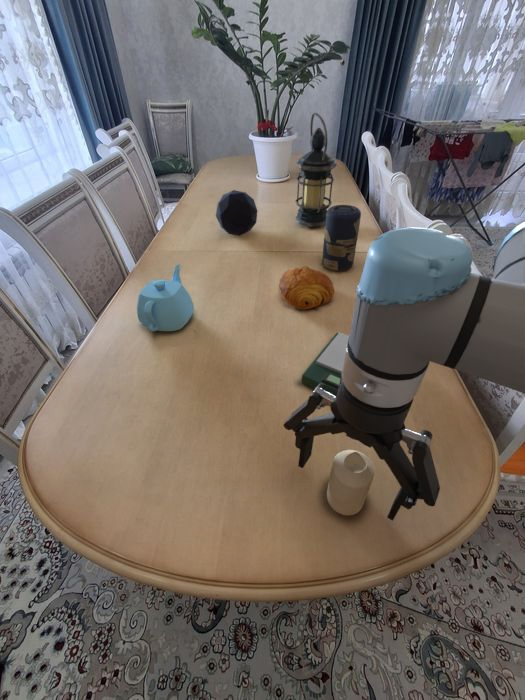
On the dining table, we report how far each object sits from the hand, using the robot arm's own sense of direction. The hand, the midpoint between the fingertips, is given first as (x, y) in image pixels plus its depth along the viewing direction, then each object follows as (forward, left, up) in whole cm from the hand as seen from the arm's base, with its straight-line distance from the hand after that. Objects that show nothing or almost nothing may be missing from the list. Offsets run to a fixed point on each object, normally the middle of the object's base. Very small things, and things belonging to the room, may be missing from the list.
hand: (346, 484), depth 50 cm
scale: (+10, -25, -4) cm, 27 cm away
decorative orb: (+73, -70, -4) cm, 101 cm away
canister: (+32, -66, -4) cm, 73 cm away
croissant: (+32, -46, -4) cm, 56 cm away
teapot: (+56, -19, -4) cm, 59 cm away
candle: (0, 0, -4) cm, 4 cm away
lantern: (+54, -91, -4) cm, 106 cm away
